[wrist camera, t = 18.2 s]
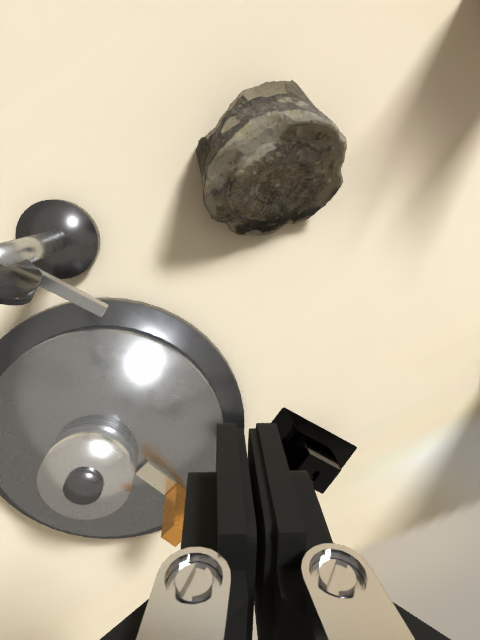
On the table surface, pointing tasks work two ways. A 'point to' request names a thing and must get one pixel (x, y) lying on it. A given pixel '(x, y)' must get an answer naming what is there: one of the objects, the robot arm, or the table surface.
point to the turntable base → (138, 318)
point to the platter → (116, 402)
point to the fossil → (270, 160)
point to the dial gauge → (50, 254)
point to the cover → (89, 468)
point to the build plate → (312, 449)
